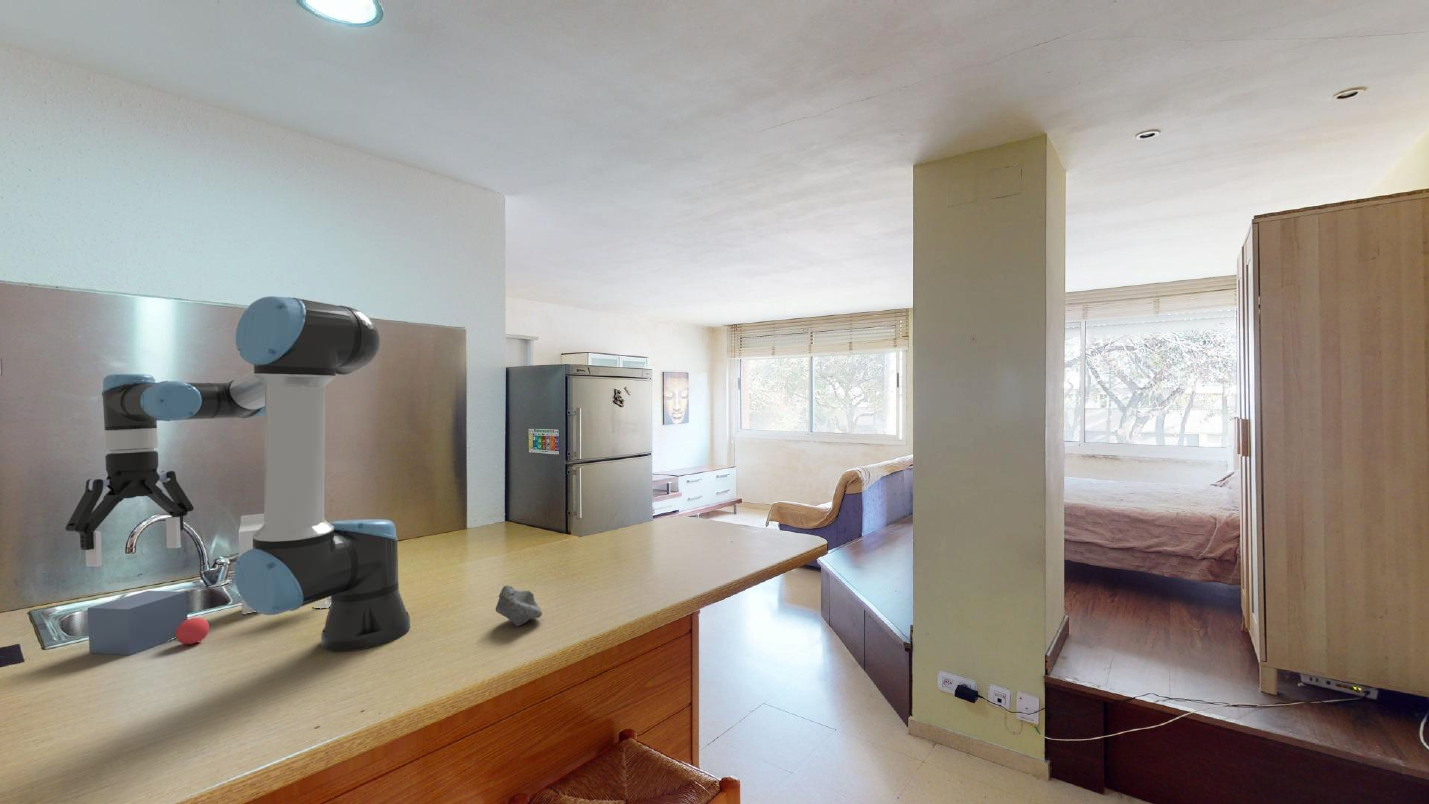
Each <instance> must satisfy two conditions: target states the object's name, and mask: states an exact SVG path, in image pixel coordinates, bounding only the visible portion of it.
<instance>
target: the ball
mask: <svg viewBox="0 0 1429 804" xmlns="http://www.w3.org/2000/svg"><path fill="white" fill-rule="evenodd" d="M209 632H210V625H209V622H208V621H207V620H206V619H205V618H203V617H191V618H188V620H186V621H184V622H183V623H181V624H180V625H179V627H178V628H177V630H176V640H177V641H178V642H179V643H181V644H182V645H187V644H190V645H194V644H193V643H195V644H197V643H196V642H198V641H200V642H201V641H203V640H204V639H206V637H207V636H208V634H209ZM198 643H199V642H198Z"/></svg>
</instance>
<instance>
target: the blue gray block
mask: <svg viewBox="0 0 1429 804" xmlns="http://www.w3.org/2000/svg"><path fill="white" fill-rule="evenodd" d="M187 598H188V596H187V591H174V590H173V591H172V590H171V591H170V590H145V591H142V592H139V593H138V592H137V593H135V594H131V595H128V596H125V597H121V598H117V599H114V600H109V601H105V602H102V603H99V604H96V605H92V606H89V607H87V622H88V623H87V626H88V628H87V629H88V647H89V654H99V655H100V654H101V655H120V656H132V655H134V653H135V654H137V653H136V652H138V653H141V652H143V651H146V650H148V649H152V648H155V647H156V645H157V646H159V645H162V644H165V643H167V642H166V641H168V640H170V639H172V638H175V637H176V630H177V628H178V627H179V625H180V624H181V623H183V622H184V621H186V620H188V619H189V618H188V602H187V601H188V599H187ZM170 641H171V640H170ZM164 642H165V643H164ZM168 642H169V641H168ZM158 644H159V645H158Z"/></svg>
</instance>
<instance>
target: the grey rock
mask: <svg viewBox="0 0 1429 804" xmlns="http://www.w3.org/2000/svg"><path fill="white" fill-rule="evenodd" d="M498 597H499V598H498V601H497V603H496V606H495V612H496V613H497V614H499V615H501V616H503V617H504V618H507V620H509V621H510V622H511V623H513V625H515V626H516V627H519V626H522V625H524V624H526V623H527V622H528V621H530V620H533V619H539V618H541V617H542V615H543V613H542V612H543V611H542V609H541V607H540V606H539V605H538V603H537V602H536V599H535V596H534V593H533V592H531V591H530V590H516V589H514V587H513V586H511V585H503V587H502V589H501V591H500V593H499V595H498Z"/></svg>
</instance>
